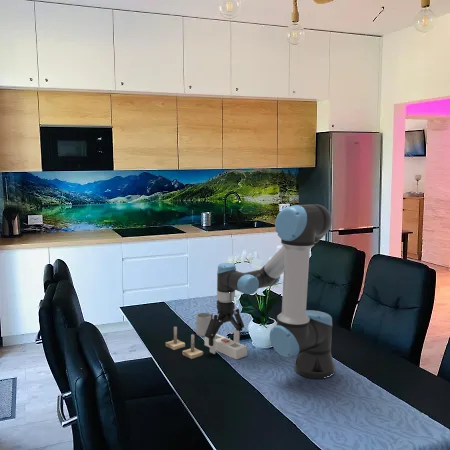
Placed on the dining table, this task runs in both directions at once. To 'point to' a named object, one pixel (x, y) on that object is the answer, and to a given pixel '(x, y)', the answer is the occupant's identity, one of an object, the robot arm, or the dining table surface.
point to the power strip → (228, 347)
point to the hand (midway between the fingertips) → (224, 348)
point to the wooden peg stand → (178, 344)
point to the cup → (202, 323)
